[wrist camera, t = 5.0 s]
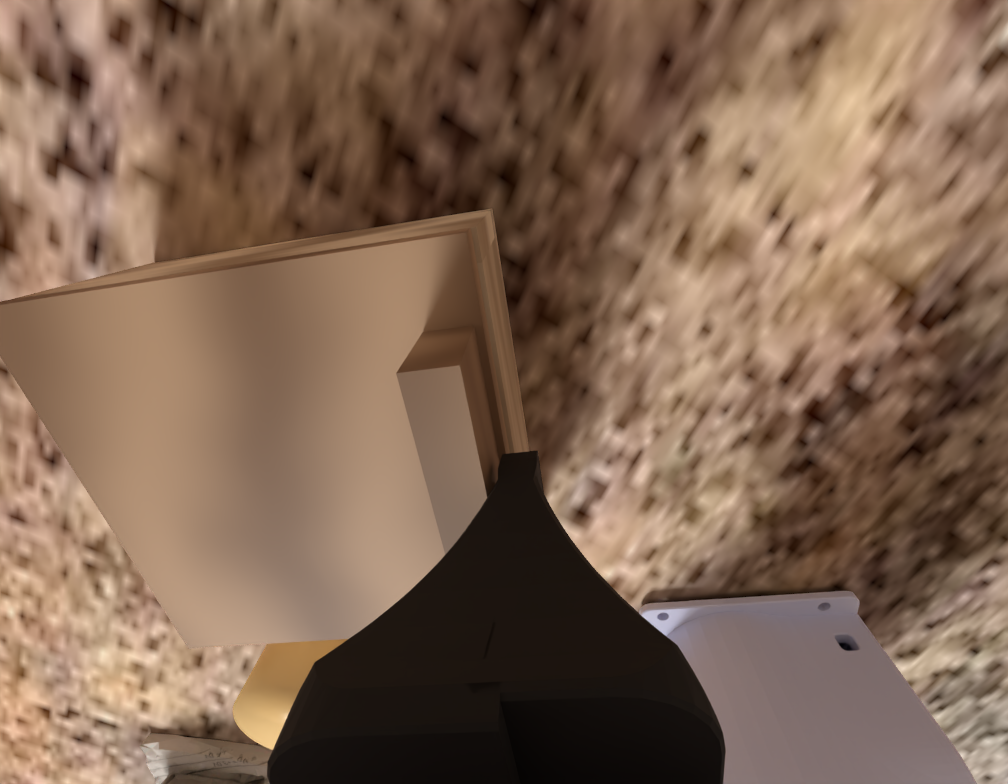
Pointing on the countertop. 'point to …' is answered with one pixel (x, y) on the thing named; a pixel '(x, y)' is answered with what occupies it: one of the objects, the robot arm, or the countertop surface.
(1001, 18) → the countertop surface
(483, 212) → the wooden box
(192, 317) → the lid
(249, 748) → the packaged product
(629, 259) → the countertop surface
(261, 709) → the cream bullet-shaped knob
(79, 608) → the countertop surface
